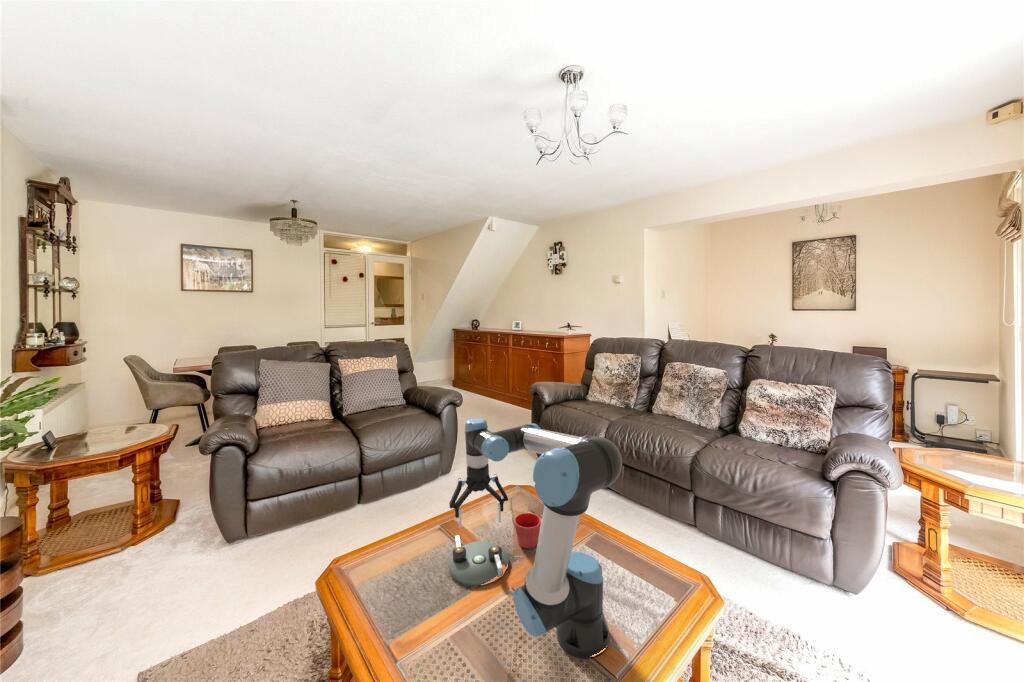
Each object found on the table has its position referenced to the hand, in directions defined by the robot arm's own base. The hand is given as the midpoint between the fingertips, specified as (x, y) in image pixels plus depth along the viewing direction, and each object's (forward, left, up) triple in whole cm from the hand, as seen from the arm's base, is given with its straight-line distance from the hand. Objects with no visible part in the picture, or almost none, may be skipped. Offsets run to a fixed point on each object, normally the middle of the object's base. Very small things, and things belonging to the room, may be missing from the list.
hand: (479, 522), depth 135 cm
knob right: (+3, -6, -18) cm, 19 cm away
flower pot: (+15, -21, -21) cm, 33 cm away
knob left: (+13, +7, -18) cm, 24 cm away
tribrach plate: (+7, 0, -21) cm, 22 cm away
